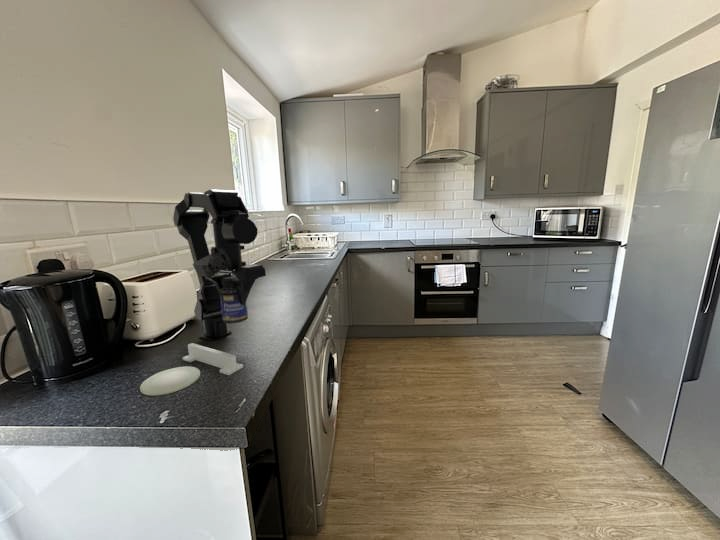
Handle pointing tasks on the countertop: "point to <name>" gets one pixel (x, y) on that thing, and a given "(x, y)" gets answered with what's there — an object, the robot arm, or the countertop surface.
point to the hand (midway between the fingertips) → (234, 303)
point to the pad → (170, 381)
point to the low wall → (213, 358)
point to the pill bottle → (232, 303)
